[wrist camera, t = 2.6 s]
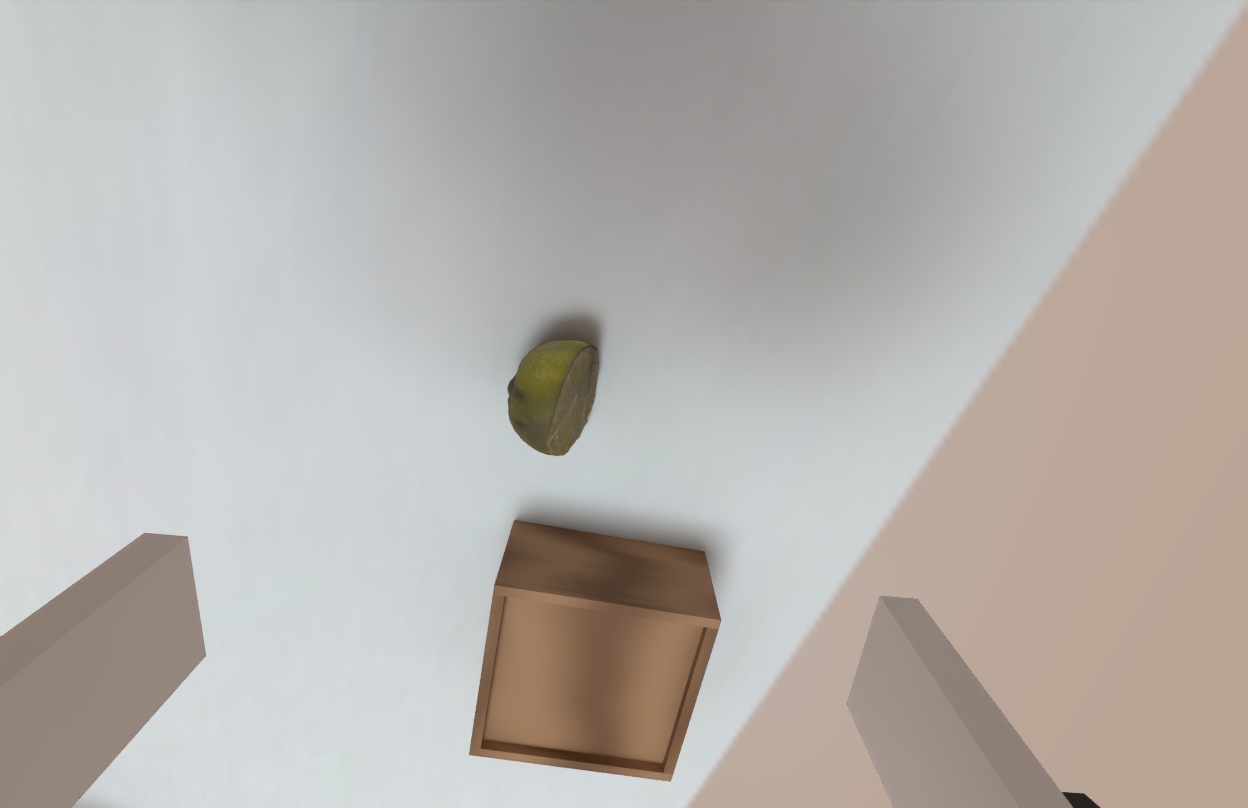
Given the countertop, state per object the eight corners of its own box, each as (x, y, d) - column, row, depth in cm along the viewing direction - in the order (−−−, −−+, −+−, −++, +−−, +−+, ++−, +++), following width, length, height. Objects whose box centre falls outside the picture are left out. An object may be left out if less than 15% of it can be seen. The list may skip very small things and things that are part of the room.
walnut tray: (491, 668, 34) (469, 754, 29) (515, 517, 30) (494, 585, 25) (662, 692, 35) (670, 781, 29) (703, 548, 31) (721, 620, 26)
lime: (586, 316, 27) (579, 343, 22) (627, 409, 28) (629, 453, 24) (497, 352, 27) (472, 387, 22) (542, 442, 29) (527, 491, 24)
